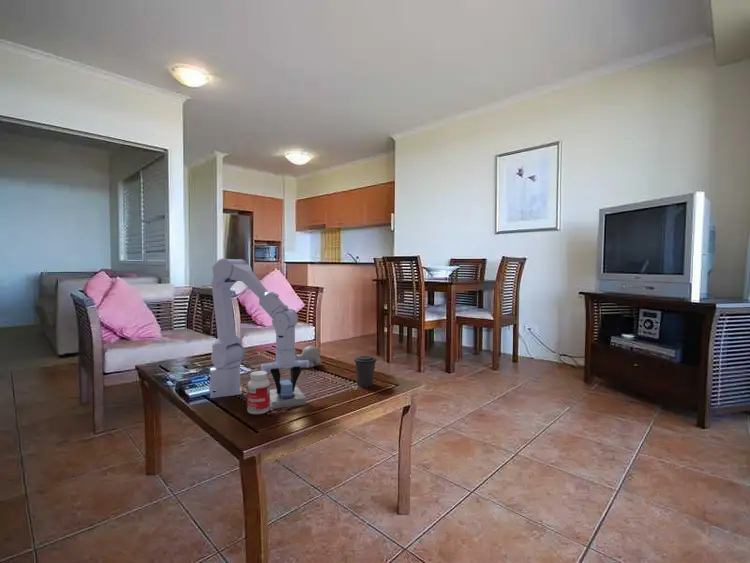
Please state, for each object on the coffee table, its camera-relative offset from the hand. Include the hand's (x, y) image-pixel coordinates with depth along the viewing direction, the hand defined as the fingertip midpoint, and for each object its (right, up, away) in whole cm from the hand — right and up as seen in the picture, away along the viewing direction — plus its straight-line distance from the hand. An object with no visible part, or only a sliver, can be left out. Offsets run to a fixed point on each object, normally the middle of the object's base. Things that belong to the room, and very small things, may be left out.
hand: (285, 391), depth 118 cm
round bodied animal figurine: (-1, -2, +40) cm, 40 cm away
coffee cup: (+25, -3, +16) cm, 30 cm away
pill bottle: (-6, -3, -9) cm, 11 cm away
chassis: (0, -3, 0) cm, 3 cm away
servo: (0, -2, 0) cm, 2 cm away
